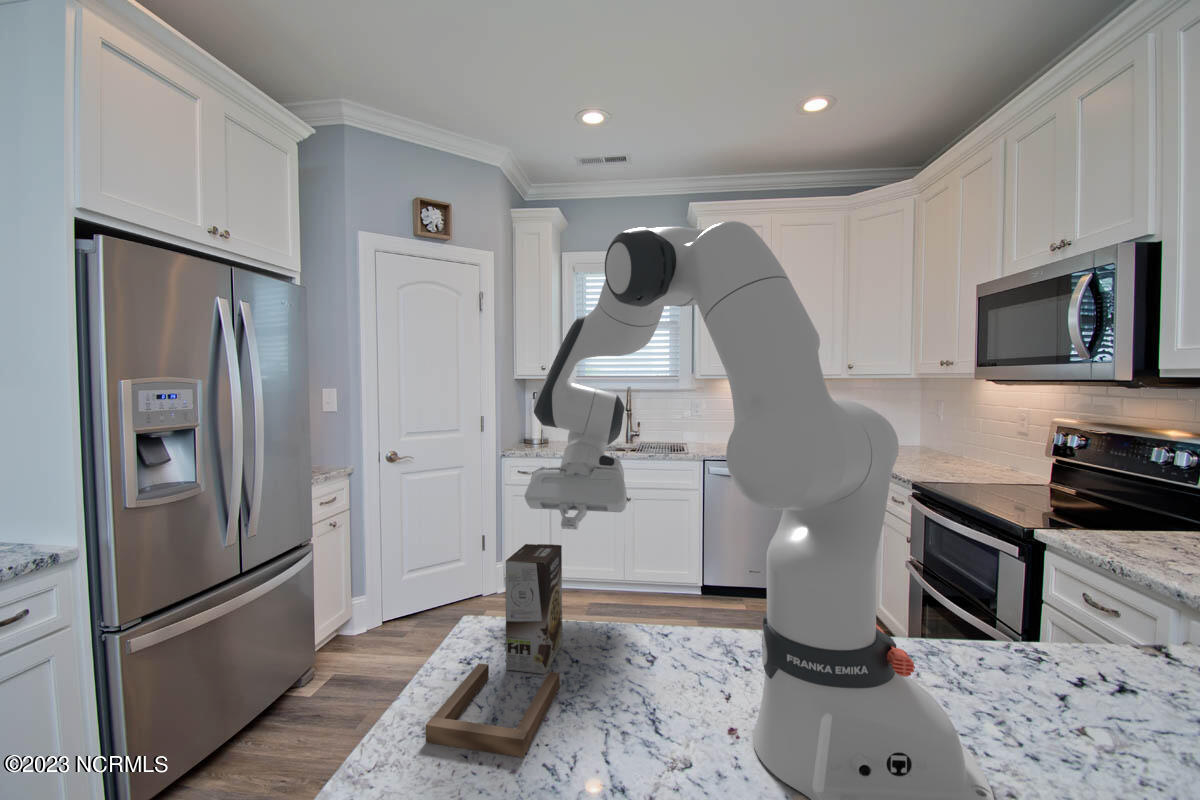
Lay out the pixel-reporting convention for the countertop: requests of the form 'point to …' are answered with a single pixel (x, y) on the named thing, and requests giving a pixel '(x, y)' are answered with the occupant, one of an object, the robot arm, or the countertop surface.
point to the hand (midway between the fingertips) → (569, 527)
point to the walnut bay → (489, 737)
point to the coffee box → (533, 607)
